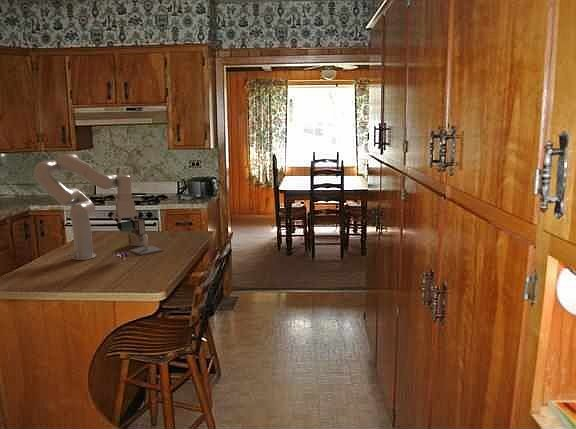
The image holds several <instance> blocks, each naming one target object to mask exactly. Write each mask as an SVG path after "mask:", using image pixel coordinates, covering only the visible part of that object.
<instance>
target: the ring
mask: <svg viewBox="0 0 576 429" xmlns="http://www.w3.org/2000/svg"><path fill="white" fill-rule="evenodd" d="M120 223H121V228H122V229H121V230H119V229H118V231H120V232H123V233H124V232H125V233H128V231H132V230H133V226H132V222H128V221H127V220H126V221H121V222H120Z"/></svg>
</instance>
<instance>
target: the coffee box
mask: <svg viewBox="0 0 576 429" xmlns="http://www.w3.org/2000/svg"><path fill="white" fill-rule="evenodd" d="M145 220H146V219H145V218H136V219H135V221H134V228H133V230H132V231H128V232H127V235H128V246H137V247H142V246H144V239H143V235H145V234H146V223H145V222H146V221H145ZM126 221H128V222H130V221H131V219H130V218H129V219H127V220H126Z"/></svg>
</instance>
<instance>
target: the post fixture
mask: <svg viewBox="0 0 576 429" xmlns="http://www.w3.org/2000/svg"><path fill="white" fill-rule="evenodd" d="M143 239H144V245H143V247H142V246H141V247H137V248H133V249H129V252H131V253H134V254H136V255H139V256H145V255H146V256H147V255H150V254H151V255H152V254H156V253H162V252H163V251H164V250H163V248H159V247H156V246H154V245H149V237H148V234H145V235H143Z"/></svg>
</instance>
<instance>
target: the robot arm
mask: <svg viewBox="0 0 576 429" xmlns="http://www.w3.org/2000/svg"><path fill="white" fill-rule="evenodd" d="M65 172H69V173H71V174H73V175H75V176H78V177H80V178H82V179H84V180H85V181H87V182H88V183H90V185H93V186H96V187H98V188H99V189H103V190H110V189H113V188H116V189H117V194H116V195H115V196H114V198H115V199H116V201H115V211H114V213H113V214H112V215H111V218H112V219H113V220H114V221H115V222H116V224H117V225H116V226H117V227H116V228H117V229H118V231H119V230H121V229H122V228H121V223H120V222H122V219H126V218H127V219H128V218H129V220H130V219H131V221H130V222H132V226H133V228H134V221H135V219H138V217H139V215H140V213H139V212H138V211H137V210H136V206H135V201H134V198H133V193H132V191H133V190H132V177H131V176H130V175H129V174H120V175H119V174H113V173H112V174H103V173H101V172H98V171H97V170H95V169H94V168H93V167H92V164H91V163H88V162H86V161H84V160H82V159H80V157H79V156H78V155H77V154H74V153H64V154H62V155H59V157H57V158H53V159H51V160H43V161H41V162H39V163H38V164H36V165H35V168H34V171H33V174H34V175H33V176H34V178H35V180H36V183H38V185H39V186H40V187H41V188H43V189H44V190H45V191H46V192H47V193H48V194H49V195H50V196H51V197H52V198H53V199H54V200H56V201H57V202H58V203H59V205H61V206H64V207H69V206H71V207H70V209H69V217H70V220H71V226H72V235H73V246H74V248H73V249H74V250H72V251H71V252H67V253H65V256H66V257H70V258H72V260H74V261H85V260H90V259H91V260H92V259H94V258H96V257H97V254H96V253H95V252H94V249H93V237H92V236H93V235H92V228H91V227H92V225H91V221H90V218H89V217H91V216H93V215H94V214H95V212H96V205H95V204H94V203H93V201H91V199H89V198H88V196H86V195H85V194H84V193H83V192H82V191H80V190H79V189H78V188H76V187H66V186H65V185H64V184H62V183H63V182H61V181H59V180H58V179H57V178H55V177H54V176H57V175H60V174H62V173H65Z"/></svg>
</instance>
